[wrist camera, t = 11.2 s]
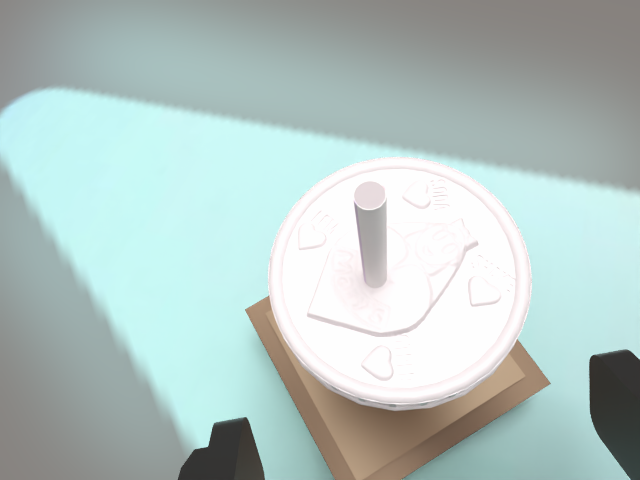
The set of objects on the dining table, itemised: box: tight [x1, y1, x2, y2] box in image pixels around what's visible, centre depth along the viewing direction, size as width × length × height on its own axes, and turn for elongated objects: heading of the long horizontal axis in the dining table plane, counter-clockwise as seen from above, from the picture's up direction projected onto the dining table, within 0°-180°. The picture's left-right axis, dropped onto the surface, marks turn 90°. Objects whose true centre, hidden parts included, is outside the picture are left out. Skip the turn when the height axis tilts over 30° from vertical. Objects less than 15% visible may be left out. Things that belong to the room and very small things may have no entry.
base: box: [245, 296, 551, 480], centre depth 24 cm, size 9×9×4 cm
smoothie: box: [268, 157, 532, 411], centre depth 15 cm, size 6×6×14 cm
